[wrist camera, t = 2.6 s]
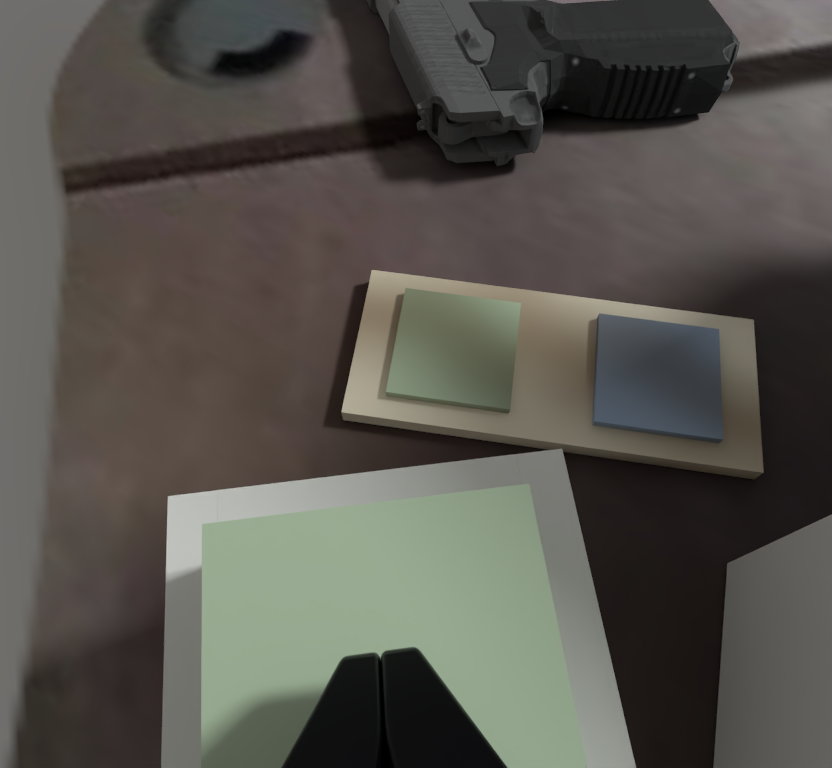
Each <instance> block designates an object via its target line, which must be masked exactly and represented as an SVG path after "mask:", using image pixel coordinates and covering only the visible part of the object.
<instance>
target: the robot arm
mask: <svg viewBox="0 0 832 768" xmlns="http://www.w3.org/2000/svg"><path fill="white" fill-rule="evenodd" d="M281 768H508V767H507V766H506V765H505V763H504V762H503V761H502V759H501V758H500V757H499V755H498V754H497V753H496V751H495V750H494V749H493V747H492V746H491V745H490V743H489V742H488V741H487V739H486V738H485V737H484V735H483V734H482V733H481V731H480V730H479V728H478V727H477V726H476V724H475V723H474V722H473V720H472V719H471V718H470V716H469V715H468V714H467V712H466V711H465V710H464V708H463V707H462V706H461V704H460V703H459V702H458V700H457V699H456V698H455V696H454V695H453V694H452V692H451V691H450V690H449V688H448V687H447V686H446V684H445V683H444V682H443V680H442V679H441V678H440V676H439V675H438V674H437V672H436V671H435V670H434V668H433V667H432V666H431V664H430V663H429V662H428V660H427V659H426V657H425V656H424V655H423V653H422V652H421V651H420V650H419V649H418V648H416V647H407V648H400V649H392V650H386V651H384V652H383V653H382V655H381V659H380V656H379V655H378V654H377V653H375V652H370V653H363V654H356V655H348V656H345V657H343V658H342V659H341V660H340V662H339V663H338V665H337V667H336V669H335V671H334V672H333V674H332V676H331V678H330V680H329V682H328V683H327V685H326V687H325V689H324V691H323V692H322V694H321V696H320V698H319V700H318V702H317V703H316V705H315V707H314V709H313V711H312V712H311V714H310V716H309V718H308V720H307V721H306V723H305V725H304V727H303V729H302V731H301V732H300V734H299V736H298V738H297V740H296V741H295V743H294V745H293V747H292V749H291V751H290V752H289V754H288V756H287V758H286V760H285V761H284V763H283V765H282V767H281Z"/></svg>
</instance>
